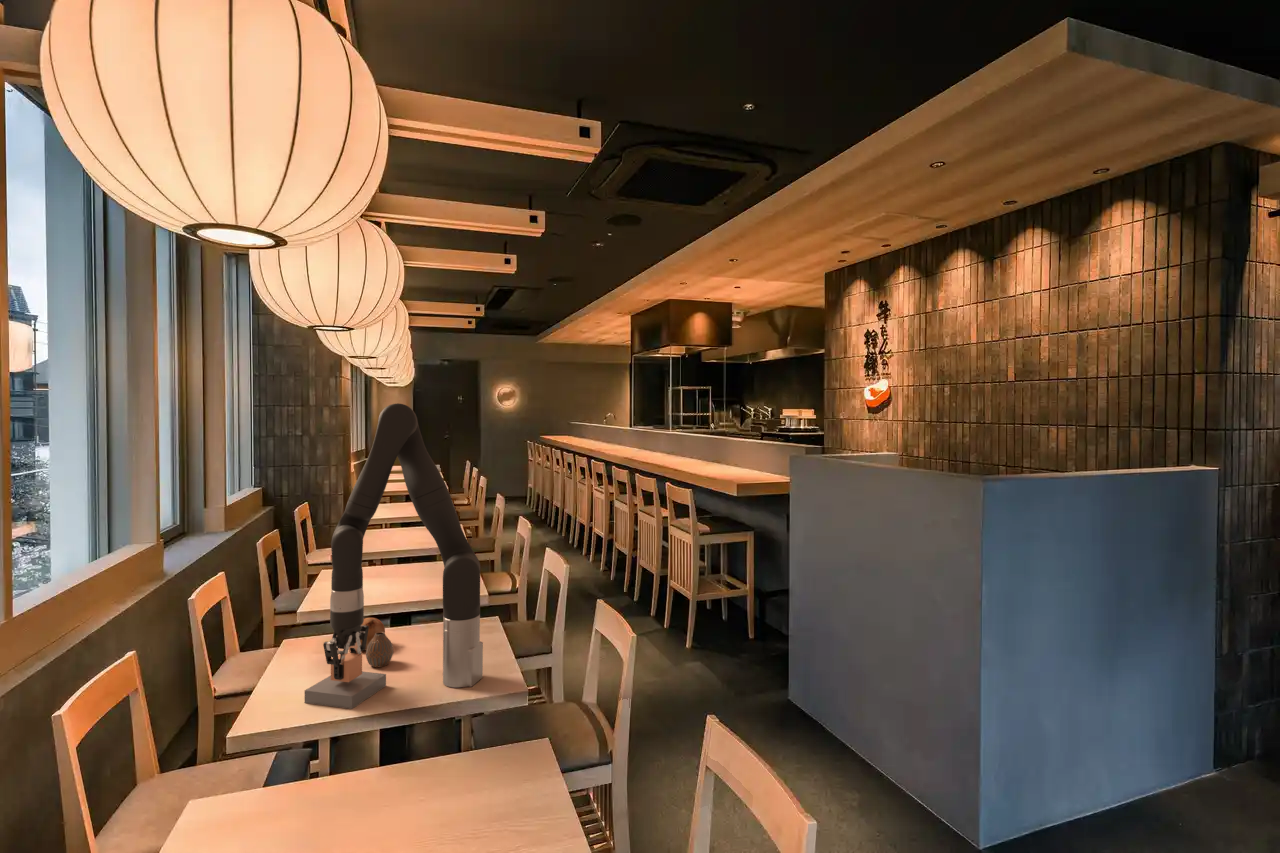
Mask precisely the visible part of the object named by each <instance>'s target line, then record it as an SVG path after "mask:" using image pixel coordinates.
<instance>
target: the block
mask: <svg viewBox="0 0 1280 853" xmlns="http://www.w3.org/2000/svg"><path fill="white" fill-rule="evenodd" d="M340 656H341V655H340V654H339V655H338V659H340ZM343 664H344V678H343V679H342V680H337V679H335V678H334V665H331V664H330V676H331V680H334V681H342V682H350V681H351V680H353V679H355V678H356V677H358V676H360V675H361V674H362V671H363V654H362V653H361V654H356V653H350V652H348V654H346V655H345V660H344V663H343Z"/></svg>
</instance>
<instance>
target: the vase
mask: <svg viewBox="0 0 1280 853" xmlns="http://www.w3.org/2000/svg"><path fill="white" fill-rule="evenodd" d="M393 654H394V647H393V643H392V640H390V639H389V637H388V636H387V635H386V632H385V633H384V632H377V633H375V635H374V637H373V639H372V640H371V641H370V643H369V644H368V646H367V650H365V657H366V661H367V663H368V665H370V666H371V667H373V668H382V667H385V666H387V665H388V664H389V663H390V662H391V661H392V658H393Z"/></svg>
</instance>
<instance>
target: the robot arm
mask: <svg viewBox="0 0 1280 853" xmlns="http://www.w3.org/2000/svg"><path fill="white" fill-rule="evenodd" d="M424 442H425V441H424V439H423V435H422V433H421V429H420V426H419V421H418V417H417V414H416V412H415V411H414V410H413V408H411V406H408V405H406V404H404V403H392V404H389V405H387V406H386V407H384V408H383V409H382V410H380V413H379V416H378V420H377V426H376V430H375V436H374V439H373V442H372V446H371V449H370V451H369V454H368V455H367V456H368V457H367V459H366V461H365V464H364V465H363V467H362V469H361V471H360V473H359V475H358V478H357V480H356V482H355V484H354V486H353V488H352V490H351V492H350V495H349V497H348V500H347V503H346V506H345V509H344V512H343V514H342V515H341V517H340V519H339V521H338V522H337V525H336V527H335V529H334V531H333V534H332V536H331V542H330V546H331V550H330V551H331V564H332V565H331V566H332V570H331V583H330V584H331V590H330V591H331V593H330V600H329V605H330V606H329V613H330V614H329V619H330V620H329V622H330V623H329V626H330V628H331V629H332V630H333V633H332V634H333V635H332V636H331V637H332V638H331V639H330V640H329V641H324V642H323V644H322V645H323V651H324V654H325V655H324V656H325V661H326V665H330V666H331V665H334V678H335V679H337V680H342V679H343V678H344V664H343V663H344V660H345V655H346V654H348V653H356V654H362V651H366V650H365V648H366V642H367V636H368V629H369V626H366V625H362V624H363V622H364V618H365V617H364V616H365V612H364V611H365V606H364V604H365V603H364V602H365V600H364V599H365V596H364V588H363V587H364V583H363V582H364V581H363V580H364V574H363V573H364V572H363V570H364V569H363V566H362V563H363V550H364V537H365V534H366V531H367V529H368V527H369V525H370V524H369V523H370V522H371V519H372V518H373V517H374V516H375V514H376V512H377V509H378V507H379V506H380V503H381V500H382V498H383V495H384V492H385V490H386V488H387V485H388V482H389V478H390V476H391V473H392V470H393V467H394V465H395V462H396V460H397V458H398V461H399V464H400V467H401V471H402V475H403V479H404V482H405V486H406V490H407V492H408V495H409V498H410V500H411V502H412V505H413V507H414V509H415V512H416V514H417V516H418V517H419V519H420V521H421V522H422V524H423V525H424V527H425V528H426V529H427V531H428V533H429V534H430V535H431V537H432V539H434V542H435V543H436V546H437V548H438V551H439V554H440V556H441V558H442V562H443V563H442V564H443V571H442V608H443V612H442V613H443V617H442V618H443V619H442V620H443V624H442V625H443V627H442V630H443V631H442V683H443V685H444V686H446V687H449V688H464V687H465V688H466V687H473V686H474V685H475V684H477V683H478V682H479V681H480V680H481V679H483V674H484V672H483V670H484V668H483V667H484V666H483V665H484V664H483V662H484V659H483V657H484V656H483V655H484V654H483V652H484V650H483V649H484V642H483V641H480V640H481V635H480V633H481V628H480V627H481V570H482V568H481V562H480V560H479V558H478V556H477V555H476V553H475V551H474V550H473V548H472V546H471V545H470V542H469V541H468V539H467V538H466V536H465V533H464V531H463V529H462V526H461V522H460V520H459V516H458V512H457V510H456V507H455V505H454V502H453V499H452V496H451V494H450V492H449V489H448V487H447V485H446V483H445V480H444V477H442V475H441V473H440V472H441V471H439V469H438V466H437V465H436V463H435V462H434V460H433V459H432V457H431V456H430V454H429V452H428V450H427V448H426V445H425V443H424ZM360 640H362V645H361V642H360ZM339 649H340V650H339ZM339 655H341V656H340V659H338V656H339Z"/></svg>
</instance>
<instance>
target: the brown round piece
mask: <svg viewBox="0 0 1280 853" xmlns="http://www.w3.org/2000/svg"><path fill="white" fill-rule="evenodd" d="M362 625H366V626H369V629H368V636H367V642H366V648H365V650H364V651H366V650H367V646H368V644H369V643H370V641H371V640H372V639H373V637H374V635H375V633H377V632H384V633H385V634H386V629H385V624H384V623H383V622H382V621H381V620H380V619H378V618H377V617H364V622H363V624H362ZM360 642H361V645H362V640H360Z"/></svg>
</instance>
